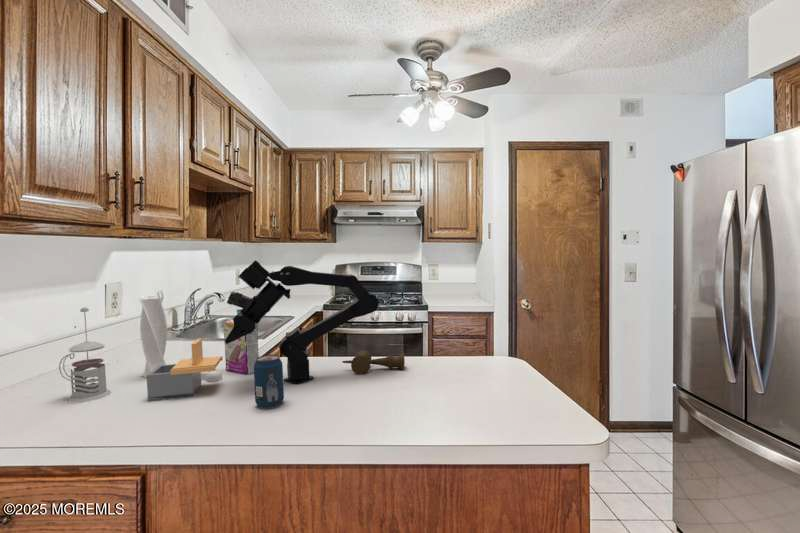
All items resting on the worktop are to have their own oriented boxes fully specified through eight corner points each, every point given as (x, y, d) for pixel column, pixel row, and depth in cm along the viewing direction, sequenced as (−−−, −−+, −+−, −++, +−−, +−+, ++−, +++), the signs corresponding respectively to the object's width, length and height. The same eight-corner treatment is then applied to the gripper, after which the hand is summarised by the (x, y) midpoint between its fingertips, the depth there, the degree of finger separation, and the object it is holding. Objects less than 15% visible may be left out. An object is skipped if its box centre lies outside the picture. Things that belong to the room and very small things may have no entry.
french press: (99, 400, 111) (93, 308, 110) (51, 404, 110) (45, 311, 109) (118, 388, 121) (113, 304, 120) (74, 392, 119) (68, 306, 118)
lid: (222, 360, 124) (221, 335, 124) (215, 370, 112) (213, 343, 112) (182, 363, 121) (181, 338, 121) (170, 375, 110) (169, 347, 110)
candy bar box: (224, 371, 136) (222, 321, 136) (237, 367, 140) (235, 319, 140) (247, 375, 130) (244, 323, 130) (260, 371, 135) (257, 321, 134)
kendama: (404, 375, 127) (339, 375, 127) (404, 367, 137) (344, 367, 137) (404, 355, 127) (339, 356, 127) (404, 349, 137) (344, 349, 137)
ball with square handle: (225, 378, 128) (225, 370, 128) (215, 382, 124) (214, 374, 124) (206, 376, 131) (205, 368, 131) (195, 380, 126) (195, 372, 126)
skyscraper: (177, 374, 135) (172, 289, 134) (152, 381, 128) (147, 291, 127) (161, 371, 139) (156, 288, 138) (136, 378, 132) (131, 291, 131)
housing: (201, 385, 122) (200, 361, 122) (193, 396, 112) (191, 371, 112) (160, 389, 119) (158, 365, 119) (148, 401, 110) (146, 375, 109)
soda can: (270, 398, 109) (267, 353, 109) (290, 401, 106) (287, 355, 105) (249, 407, 103) (247, 359, 102) (269, 411, 100) (267, 362, 99)
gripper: (247, 279, 128) (211, 317, 126) (239, 283, 110) (197, 328, 108) (275, 303, 131) (240, 340, 128) (272, 311, 112) (230, 355, 110)
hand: (227, 340), depth 119 cm, fingers open, 5 cm apart
